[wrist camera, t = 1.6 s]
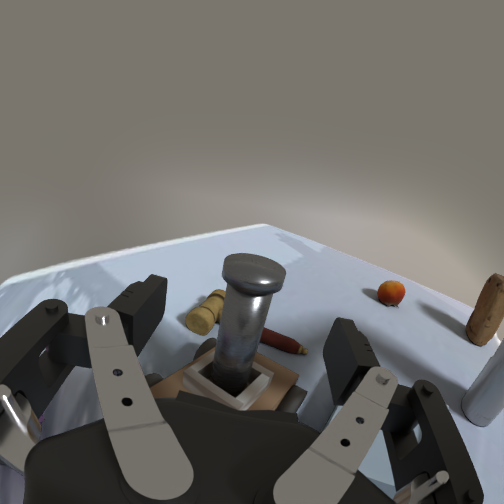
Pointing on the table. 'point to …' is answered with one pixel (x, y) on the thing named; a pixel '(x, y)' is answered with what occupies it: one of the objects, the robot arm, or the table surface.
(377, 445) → the tray
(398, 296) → the fruit
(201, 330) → the gavel
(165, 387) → the wheeled pole base
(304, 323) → the table surface
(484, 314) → the block
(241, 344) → the pin
